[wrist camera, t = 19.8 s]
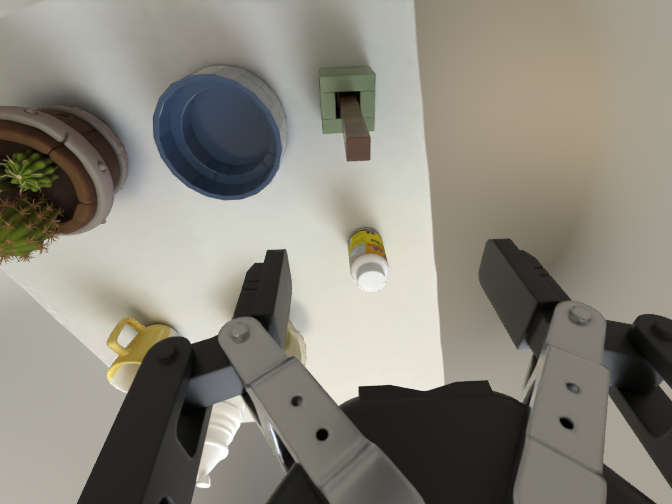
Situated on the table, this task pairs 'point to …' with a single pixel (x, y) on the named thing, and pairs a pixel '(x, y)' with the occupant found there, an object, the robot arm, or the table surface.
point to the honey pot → (219, 436)
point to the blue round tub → (221, 132)
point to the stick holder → (346, 81)
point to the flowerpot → (54, 175)
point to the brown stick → (354, 128)
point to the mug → (133, 351)
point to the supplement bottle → (367, 259)
